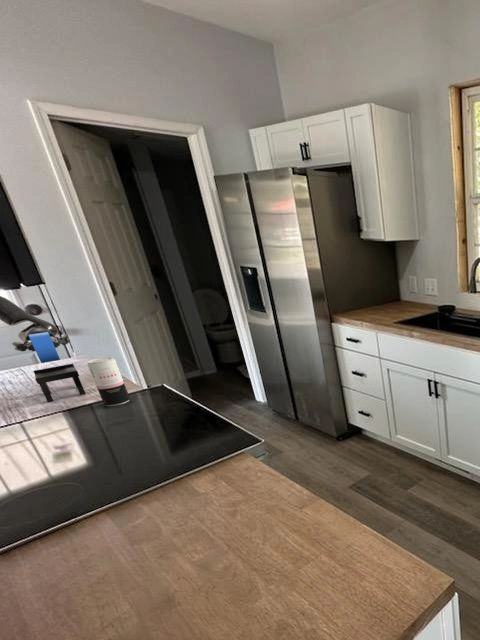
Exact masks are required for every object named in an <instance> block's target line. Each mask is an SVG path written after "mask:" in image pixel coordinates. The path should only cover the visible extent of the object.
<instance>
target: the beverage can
mask: <svg viewBox="0 0 480 640" xmlns="http://www.w3.org/2000/svg"><path fill="white" fill-rule="evenodd" d="M87 367H88V370H89V373H90V374H91V377H92V379H93V382H94V384H95V386H96V389H97V392H98V394H99V395H100V396H99V397H100V398H101V400H102V401H101V402H102V403H103V405H104V406H106V407H115V406H119V405H123V404H126V403H128V402H130V400H131V396H130V394H129V392H128V389H127V387H126V385H125V381H124V379H123V377H122V374H121V372H120V368H119V366H118V364H117V361H116V359H115V358H114V357H113V356H107V357H99V358H94V359H91V360H87ZM129 399H130V400H129Z"/></svg>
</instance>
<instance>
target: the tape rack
mask: <svg viewBox="0 0 480 640" xmlns="http://www.w3.org/2000/svg"><path fill="white" fill-rule="evenodd" d="M33 373H34V378H35V381H36V384H37V385H39V387H40V389H41V391H42V393H43V395H44V397H45V400H46V402H47V403H51V402H54V398H53V396H52V392H51V389H50V388H49V385H48V383H51V382H57V381H61V380H66V379H71V378H72V380H73V384H74V385H75V388H77V391H78V393H79V395H80V396H83V395H86V394H87V393H86V391H85V389H84V386H83V384H82V382H81V379H80V374H79V372H78V370H77V368H76V367H75V364H74V363H68V364H64V365H63V364H62V365H57V366H51V367H45V368H41V369H34V370H33Z"/></svg>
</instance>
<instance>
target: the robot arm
mask: <svg viewBox="0 0 480 640" xmlns="http://www.w3.org/2000/svg"><path fill="white" fill-rule="evenodd" d="M0 321H1V322H2V323H3V324H6V325H8V326H11V327H13V326H17V325H19V324H22V323H26V322H30V323H32V324H30V325H28V326H27V327H25V328H24V329H21V330H20V332H18V334H17V337H18V338H19V340H20V341H21V342H20V341H19V342H18V341H15V342H12V343H11V344H12V346H13V348H14V350H15V351H20V352H26V351H27V350H28V351H32V352H36V351H35V349H34V347H33V345H32V342H31V340H30V338H29V335H30V334H37V333H44V332H48V333H49V336H50V338H51V340H52V342H53V344H54V347H55V349H56V348H58V347H60V346H61V345H62V346H66V345H68V344H69V343H71V340H70V337H69V336H68V334H64V335H61V336H60V337H59V336H56V335H58V334H59V329H58V328H57V326H56V325H55V324H53V323H51V322H49V321H47V320H45V319H41V318H39V317H36V316H34V315H33V314H30V313H29V312H27V311H25V310H24V309H22V308H21V307H19V306H18V305H17V304H15V303H14V302H12V301H11V300H9V299H8V298H6V297H3V296H2V295H0Z"/></svg>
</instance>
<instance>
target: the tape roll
mask: <svg viewBox="0 0 480 640" xmlns="http://www.w3.org/2000/svg"><path fill="white" fill-rule="evenodd" d="M29 338H30V340H31V342H32V345H33V347H34V349H35V351H34V352H35V353H36V355H37V357H38V359H39V362H40V363H41V364H44V363H49V362H56V361H60V360H61V358H60V356H59V354H58V351H57V349H56V348H55V347H54V344H53V342H52V340H51V338H50V336H49V333H48V332H44V333H37V334H30V335H29Z"/></svg>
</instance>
